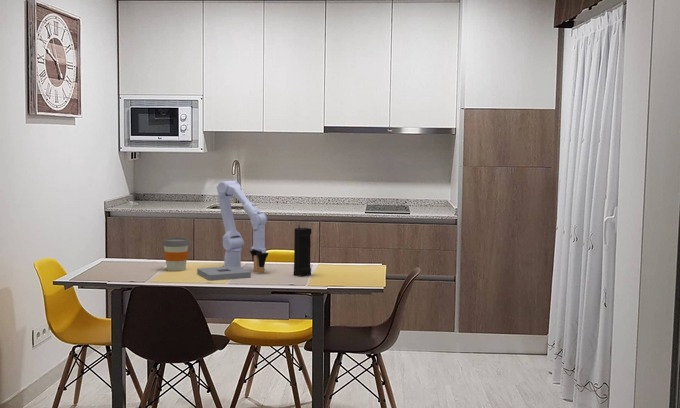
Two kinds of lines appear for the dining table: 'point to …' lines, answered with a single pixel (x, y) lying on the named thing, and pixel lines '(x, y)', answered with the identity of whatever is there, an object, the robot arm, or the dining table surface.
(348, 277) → the dining table surface
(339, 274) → the dining table surface
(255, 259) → the plug
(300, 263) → the portable radio
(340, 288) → the dining table surface
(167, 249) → the reusable coffee cup
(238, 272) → the socket plate
